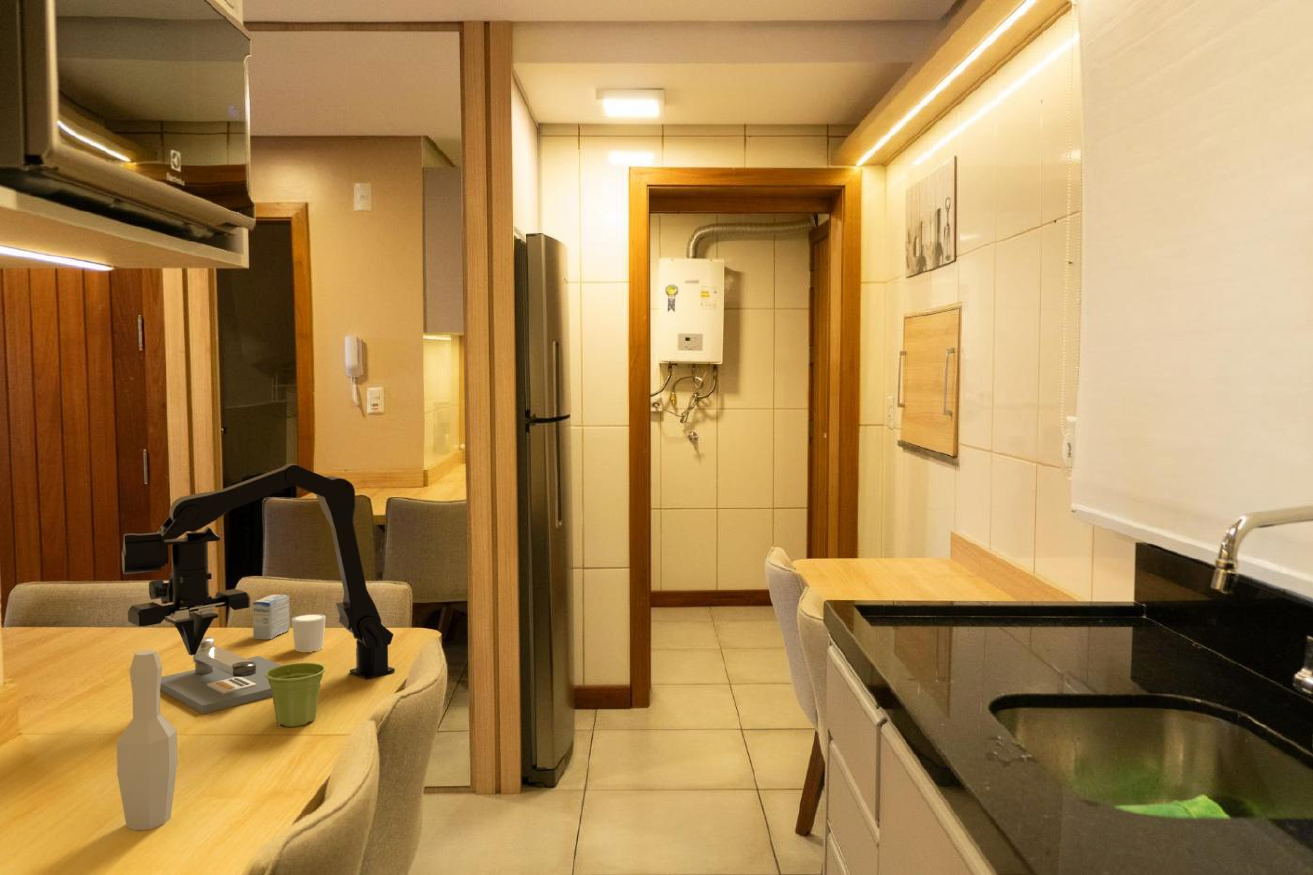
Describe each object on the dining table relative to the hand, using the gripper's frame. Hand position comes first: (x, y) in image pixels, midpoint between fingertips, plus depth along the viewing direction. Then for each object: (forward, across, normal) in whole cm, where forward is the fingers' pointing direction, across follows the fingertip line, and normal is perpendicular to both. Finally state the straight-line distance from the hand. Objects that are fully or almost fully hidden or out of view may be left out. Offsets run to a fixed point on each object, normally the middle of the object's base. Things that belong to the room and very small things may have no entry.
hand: (192, 654), depth 157 cm
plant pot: (+9, -8, +22) cm, 25 cm away
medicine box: (+9, -31, -34) cm, 47 cm away
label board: (+9, -9, -4) cm, 13 cm away
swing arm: (+5, -7, -3) cm, 9 cm away
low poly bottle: (+9, +22, +42) cm, 48 cm away
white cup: (+9, -31, -17) cm, 36 cm away
